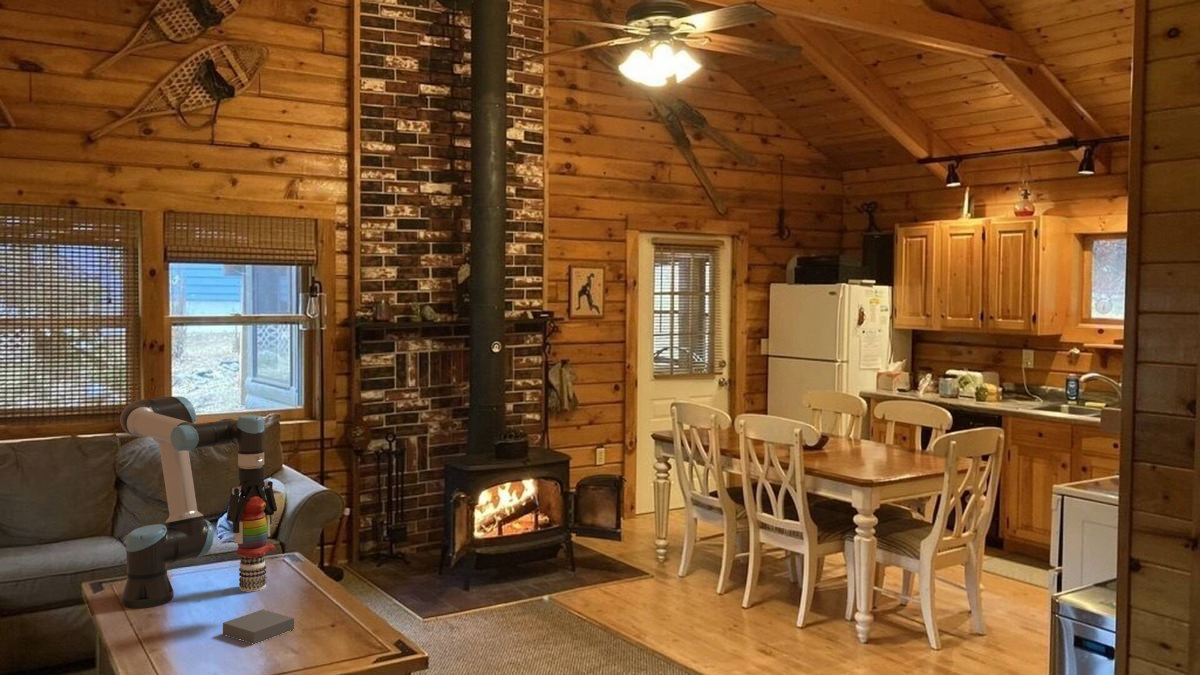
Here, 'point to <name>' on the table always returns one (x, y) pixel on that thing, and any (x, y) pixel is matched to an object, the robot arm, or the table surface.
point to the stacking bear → (254, 530)
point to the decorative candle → (252, 573)
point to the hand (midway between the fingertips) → (252, 539)
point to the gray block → (258, 626)
